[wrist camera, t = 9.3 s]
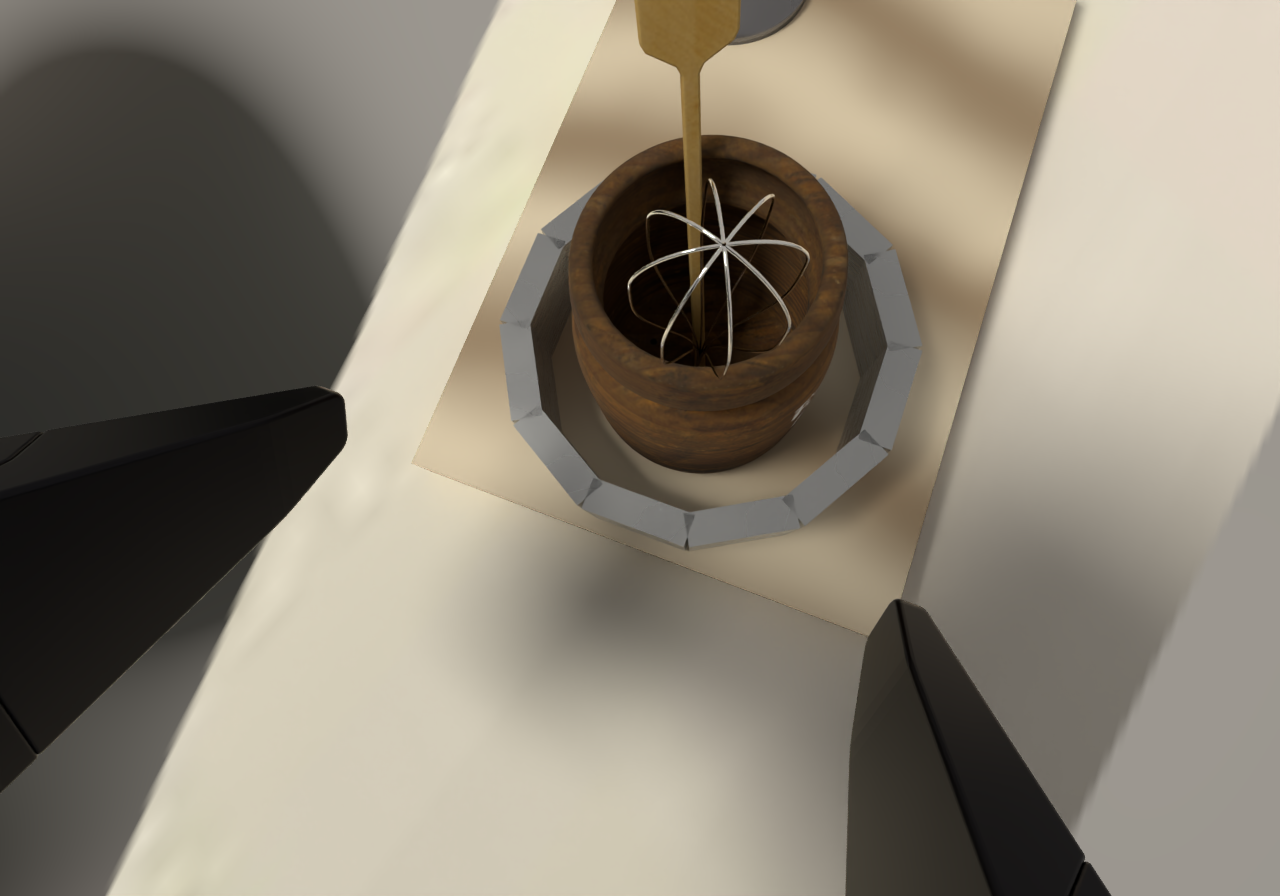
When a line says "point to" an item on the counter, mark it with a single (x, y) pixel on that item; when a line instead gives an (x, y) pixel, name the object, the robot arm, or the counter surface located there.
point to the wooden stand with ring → (870, 318)
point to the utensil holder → (705, 276)
